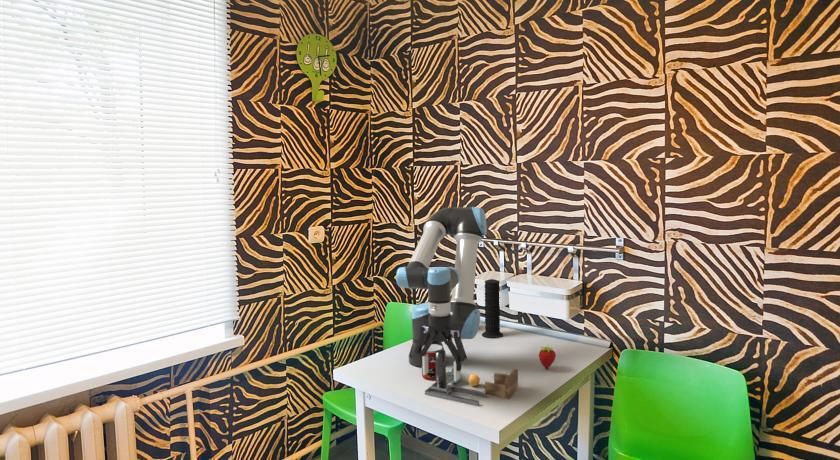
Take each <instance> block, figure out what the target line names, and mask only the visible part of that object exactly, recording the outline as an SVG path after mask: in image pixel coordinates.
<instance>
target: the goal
mask: <svg viewBox="0 0 840 460" xmlns="http://www.w3.org/2000/svg"><path fill="white" fill-rule="evenodd" d="M518 372H519V370H518V368H517V369H516V368H513V370H512V371H511V372H510V373H509V374H506V373H499V372H494V373H493V382H491V381H485V382H484V392H486V393H487V396H490V397H491V396H492V397H497V398H501V399H505V400H506V399H507V400H509V399H511V397H512V395H513V394H514V393H515V392H516V391H517V390H518V388H519V375H518V374H519V373H518Z"/></svg>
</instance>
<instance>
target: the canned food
mask: <svg viewBox="0 0 840 460" xmlns="http://www.w3.org/2000/svg"><path fill="white" fill-rule="evenodd" d="M423 347H424V346H423ZM423 347H422V349H423ZM437 350H443V348H442V346H440V345H437V344H431V346H430V347H429V349H428V350H427V353H425V354H428V373H427V374H426V375H423V365H422V367H421V376H422V379H424V380H427V381H436V357H435V351H437Z"/></svg>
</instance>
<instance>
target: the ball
mask: <svg viewBox="0 0 840 460" xmlns="http://www.w3.org/2000/svg"><path fill="white" fill-rule="evenodd" d="M480 382H481V379H480V377H479V375H477V374H474V373H472V374H470V376H469V377H468V384H469V385H470V386H472V387H476V386H478V385H479V384H480Z"/></svg>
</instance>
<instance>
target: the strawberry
mask: <svg viewBox="0 0 840 460" xmlns="http://www.w3.org/2000/svg"><path fill="white" fill-rule="evenodd" d="M549 345H550V344H549V343H548V344H547V345H546V346H544V347H540V351H539V352H538V358H539V362H540V363H541V365H542V366H543V367H544V369H545V370H548V369H549V368H550V367H551V366H552V364H553V363H554V362H555V359H556V356H557V355H556V351H555V350H554V349H553V347H550V346H549Z"/></svg>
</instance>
